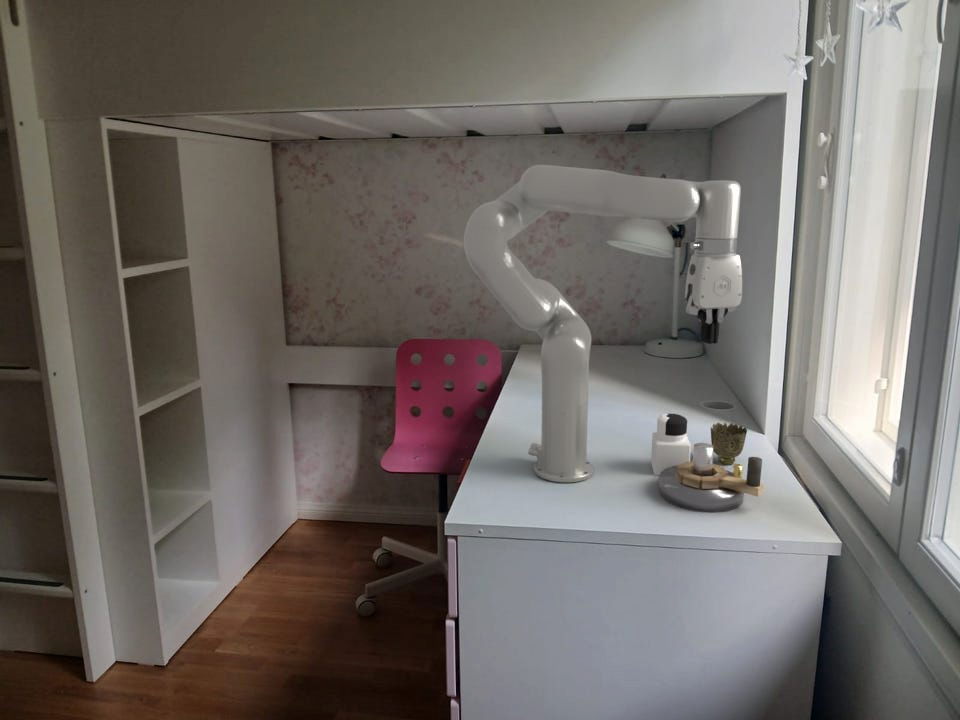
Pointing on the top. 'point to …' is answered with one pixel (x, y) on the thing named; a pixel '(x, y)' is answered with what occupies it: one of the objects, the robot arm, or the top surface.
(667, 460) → the medicine bottle
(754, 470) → the wrench
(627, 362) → the top surface
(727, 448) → the cup
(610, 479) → the top surface
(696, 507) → the post base
